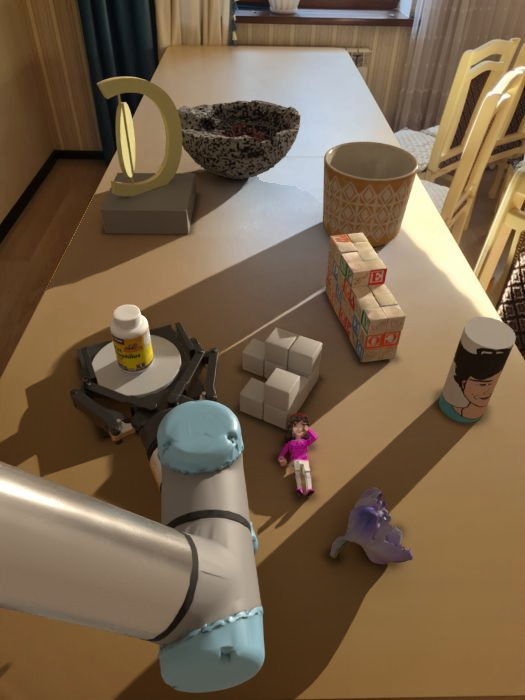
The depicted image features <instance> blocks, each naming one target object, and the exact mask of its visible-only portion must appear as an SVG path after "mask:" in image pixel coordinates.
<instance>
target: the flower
mask: <svg viewBox="0 0 525 700" xmlns="http://www.w3.org/2000/svg"><path fill="white" fill-rule="evenodd" d="M383 493H384V492H382V491H381V488H377V486H373V487H371V488H369V489H366V490H365V491H364V492H363V493H362V494H361V496H360V497H359V498H358V499H357V500H356V503H355V506H354V507H353V508H352V509H351V511H350V512H349V514H348V524H347V530H346V532H345V535H341V536H338V537H337V538H336V539H335V540H334V541H333V542H332V544H331V548H330V552H329V556H330V557H331V558H332V559H336V558H337V557H338V555H339V553H340V552H341V551H342V550H344V549H345V548H346V546H347V545H348V544H349V543H354V544H357V545H359V546H361V547H362V549H363V550H364V552H365V555H366V556H367V558H368V559H369V560H370V561H371V562H372V563H374V564H376V565H377V564H378V565H387V564H390V563H394V564H396V563H397V564H400V563H405V562H409V561H412V560H413V559H414V557H413V554H412V550H411V547H408V548H407V549H406V547H405V546H402V540H403V530H400V529H399V528H398V527H397V526H396V525H394V526H393V525H392V524H389V523H390V522H391V521H392V518H393V516H392V515H390V514H389V511H388V510H387V508H386V505H387V501H386V500H382V498H383V496H384V494H383Z"/></svg>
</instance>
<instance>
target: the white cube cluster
mask: <svg viewBox="0 0 525 700" xmlns="http://www.w3.org/2000/svg"><path fill="white" fill-rule="evenodd" d="M322 349H323V342H321V341H318V340H316V339H315V340H314V339H312V338H309V337H306V336H303V335H299V334H297V333H294V332H291V331H288V330H285V329H283V328H280V327H275V328H274V329H273V330H272V332H271V333H270V334H269V335H268V337H267V338H266V339H265V340H264V341H263V340H258V339H257V338H252V339H251V341H250V342H249V343H248V344H247V345H246V347H245V348H244V349H243V350H242V352H241V355H242V356H241V359H242V361H241V362H242V364H241V365H242V368H241V369H242V370H244V371H245V372H249V373H252V374H254V375H256V376H260V377H261V378H262V377H264V378H265V379H267V380H266V381H265V382H264V381H261V380H259V379H256V378H253V377H251V378H250V379H249V380H248V382H247V383H246V385H245V386H244V387H243V388H242V390H241V391H240V392H239V411H240V412H242V413H244V414H247V415H249V416H251V417H254V418H256V419H259V420H263V421H264V422H266V423H269V424H271V425H274V426H276V427H278V428H281V429H283V430H287V426H288V424H289V421H290V416H292V415H293V414H297V413H298V412H299V411H300V409H301V407H302V406H303V404H304V402H305V401H306V399H307V398H308V396H309V394H310V393H311V391H312V390H313V388H314V387H315V385H316V383H317V382H318V380H319V376H320V375H319V374H320V367H321V359H322V358H321V357H322Z"/></svg>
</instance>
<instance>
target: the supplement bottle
mask: <svg viewBox="0 0 525 700" xmlns="http://www.w3.org/2000/svg"><path fill="white" fill-rule="evenodd" d="M112 318H113V319H112V320H111V322H110V324H109V330H110V336H111V340H113V344H114V349H115V353H116V357H117V362H118V365H119V367H120V368H121V369H122V370H123V371H125V372H127V373H140V372H143V371H145V370H147V369H148V368H149V367H150V366H151V365H152V363H153V351H152V345H151V338H150V332H149V330H150V326H149V321H148V320H147V318H146V317H145V316H144V315H142V313H141V310H140V308H139V306H136V305H135V304H130V303H129V304H123V305H119V306H118V307H116V308H115V309H114V310H113V312H112Z"/></svg>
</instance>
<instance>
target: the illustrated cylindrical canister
mask: <svg viewBox="0 0 525 700" xmlns="http://www.w3.org/2000/svg"><path fill="white" fill-rule="evenodd" d="M516 339H517V337H516V333H515V331H514V330H513V328H512V327H510V326H509V325H508V324H507V323H505V322H504V321H501V320H499V319H496V318H493V317H488V316H478V317H477V316H476V317H473V318H470V319H469V320H468V321H466V322H465V325H464V327H463V330H462V332H461V335H460V337H459V341H458V344H457V347H456V350H455V353H454V356H453V359H452V362H451V365H450V368H449V369H448V373H447V375H446V379H445V382H444V385H443V387H442V390H441V393H440V396H439V399H438V406H439V408H440V409H441V411H442V412H443V413H444V414H445V415H446V416H447V417H448V418H450V419H451V420H454V421H456V422H459V423H465V424H467V423H468V424H469V423H475V422H477V421H479V420H481V418H482V417H483V416H484V413H485V412H486V409H487V407H488V405H489V403H490V400H491V397H492V396H493V393H494V391H495V388H496V386H497V384H498V381H499V379H500V377H501V375H502V372H503V371H504V369H505V365H506V363H507V362H508V359H509V356H510V354H511V352H512V350H513V347H514V345H515V342H516Z"/></svg>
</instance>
